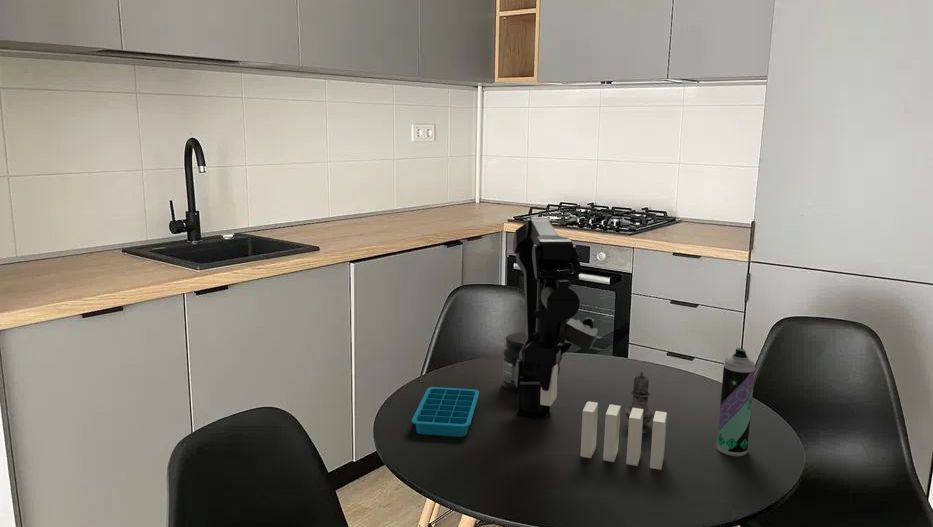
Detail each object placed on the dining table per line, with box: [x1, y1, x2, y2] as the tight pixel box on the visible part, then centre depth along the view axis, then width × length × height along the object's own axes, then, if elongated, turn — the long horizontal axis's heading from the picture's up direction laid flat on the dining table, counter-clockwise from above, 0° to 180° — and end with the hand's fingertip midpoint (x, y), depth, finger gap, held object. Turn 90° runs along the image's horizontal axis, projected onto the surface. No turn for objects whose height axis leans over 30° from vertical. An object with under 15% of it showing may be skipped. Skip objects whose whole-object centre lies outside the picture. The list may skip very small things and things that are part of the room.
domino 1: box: [540, 364, 559, 406], centre depth 136 cm, size 2×5×9 cm, turn 160°
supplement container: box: [501, 332, 526, 394], centre depth 168 cm, size 10×10×12 cm
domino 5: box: [649, 410, 668, 471], centre depth 131 cm, size 2×5×9 cm, turn 160°
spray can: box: [716, 347, 756, 457], centre depth 136 cm, size 6×6×20 cm
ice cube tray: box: [411, 386, 480, 438], centre depth 151 cm, size 12×20×3 cm, turn 173°
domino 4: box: [625, 408, 644, 467], centre depth 132 cm, size 2×5×9 cm, turn 160°
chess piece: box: [624, 371, 655, 434], centre depth 146 cm, size 6×6×12 cm
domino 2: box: [580, 400, 599, 459], centre depth 135 cm, size 2×5×9 cm, turn 160°
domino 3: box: [602, 403, 622, 463], centre depth 133 cm, size 2×5×9 cm, turn 160°
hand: (549, 385), depth 136 cm, fingers closed on domino 1, 5 cm apart
